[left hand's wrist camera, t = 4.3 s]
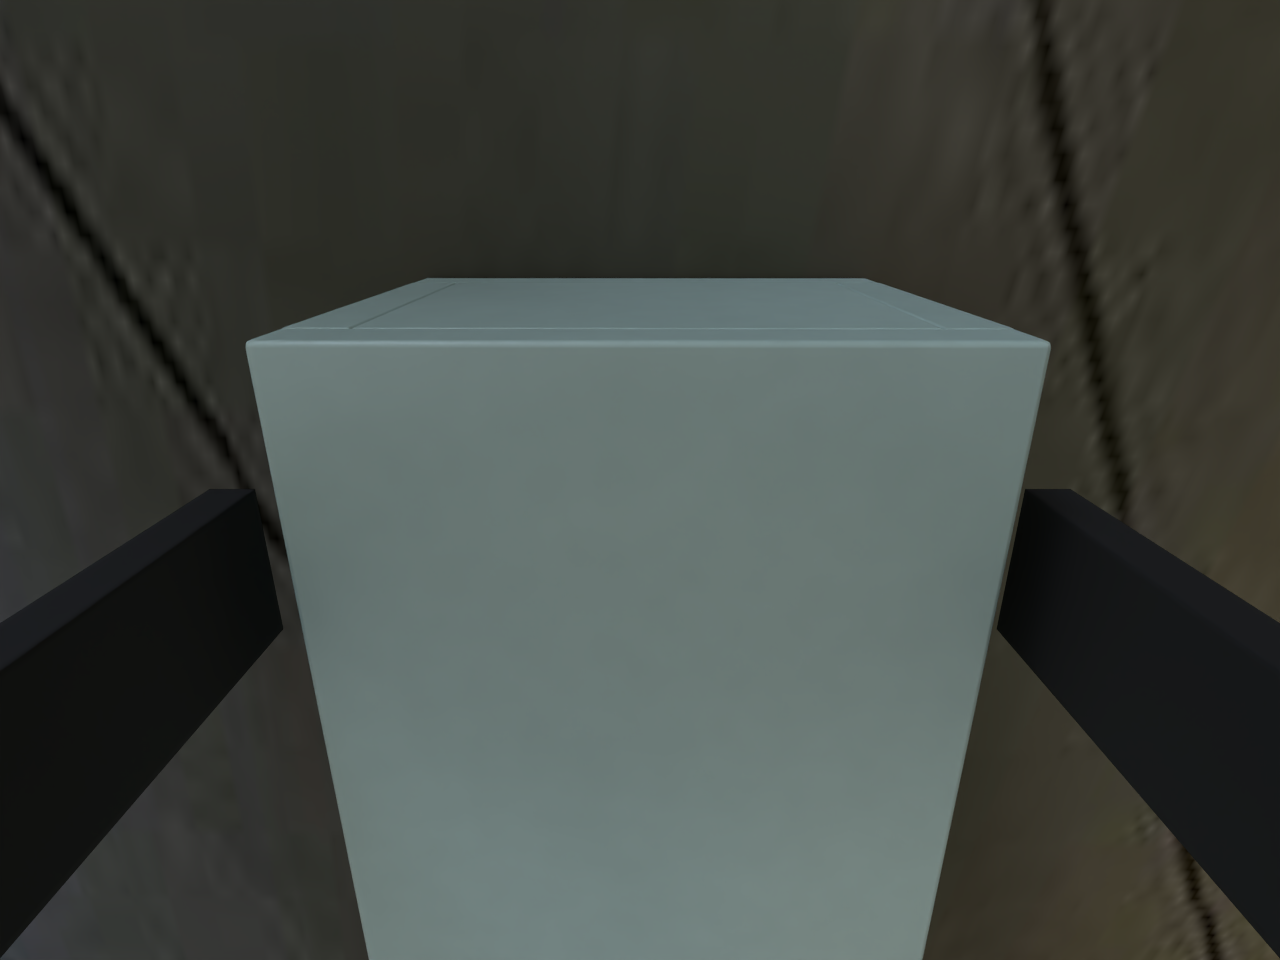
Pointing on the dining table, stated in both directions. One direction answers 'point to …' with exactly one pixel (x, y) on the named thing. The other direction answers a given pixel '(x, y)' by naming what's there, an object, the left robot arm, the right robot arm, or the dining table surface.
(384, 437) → the cabinet
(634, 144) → the dining table surface
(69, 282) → the dining table surface
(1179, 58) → the dining table surface
